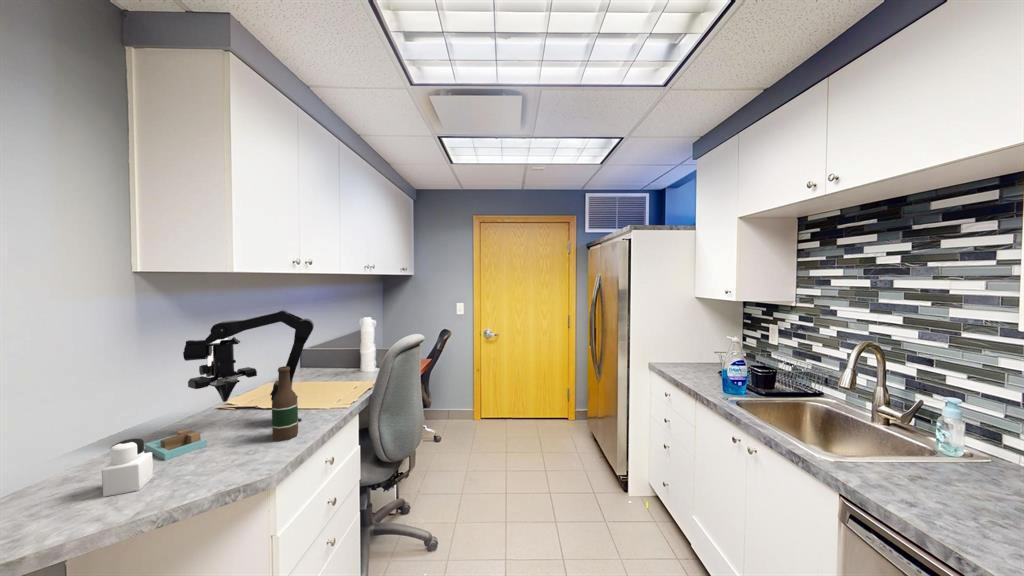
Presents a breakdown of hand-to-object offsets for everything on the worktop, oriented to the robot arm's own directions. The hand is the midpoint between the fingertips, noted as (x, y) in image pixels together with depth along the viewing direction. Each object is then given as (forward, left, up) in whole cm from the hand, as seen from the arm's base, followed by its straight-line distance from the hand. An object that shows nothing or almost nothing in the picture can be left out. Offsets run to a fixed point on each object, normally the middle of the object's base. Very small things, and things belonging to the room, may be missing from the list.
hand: (225, 401), depth 131 cm
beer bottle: (-23, -7, -11) cm, 27 cm away
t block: (-1, +13, -11) cm, 17 cm away
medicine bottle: (-17, +30, -11) cm, 36 cm away
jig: (0, +14, -11) cm, 17 cm away
